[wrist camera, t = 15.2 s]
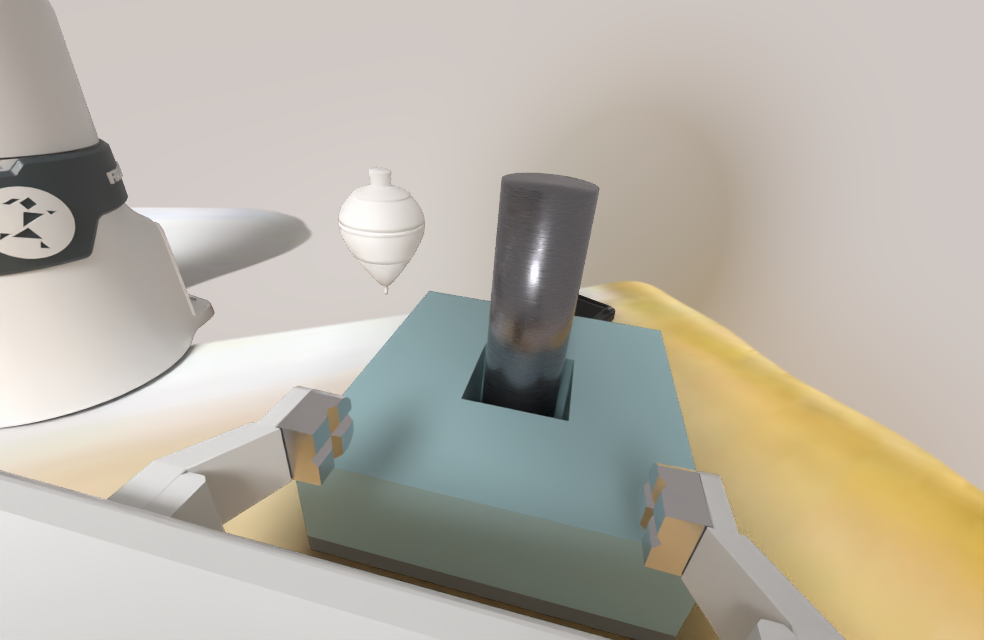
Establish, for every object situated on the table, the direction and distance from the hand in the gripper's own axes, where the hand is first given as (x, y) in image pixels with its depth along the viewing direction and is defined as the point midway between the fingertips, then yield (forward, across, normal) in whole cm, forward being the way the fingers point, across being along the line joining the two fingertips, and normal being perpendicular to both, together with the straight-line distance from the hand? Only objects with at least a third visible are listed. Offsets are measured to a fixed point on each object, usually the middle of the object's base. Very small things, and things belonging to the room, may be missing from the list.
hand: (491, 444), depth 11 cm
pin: (+10, 0, +10) cm, 14 cm away
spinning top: (+28, +16, +11) cm, 34 cm away
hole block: (+10, 0, +11) cm, 15 cm away
